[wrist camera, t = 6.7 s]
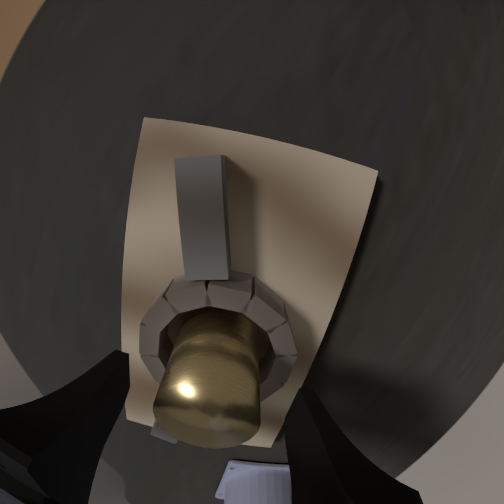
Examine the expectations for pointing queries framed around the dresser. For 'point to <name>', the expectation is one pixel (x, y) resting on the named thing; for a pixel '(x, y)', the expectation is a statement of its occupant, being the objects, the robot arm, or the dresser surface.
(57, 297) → the dresser surface
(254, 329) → the cylinder
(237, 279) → the coupling plate
